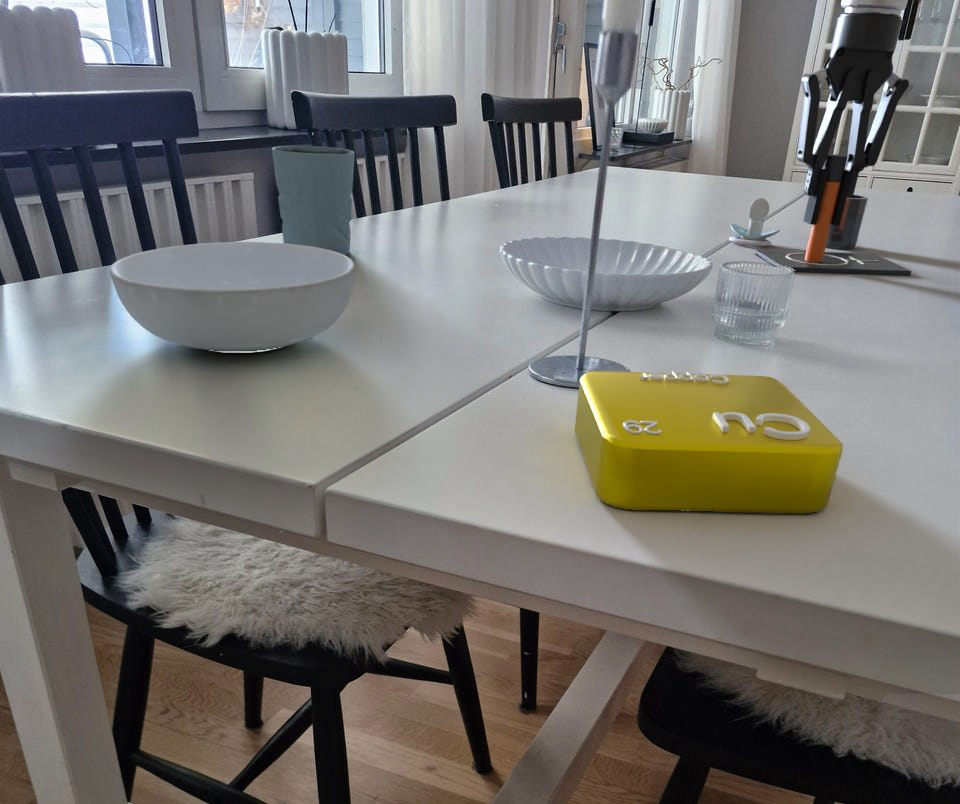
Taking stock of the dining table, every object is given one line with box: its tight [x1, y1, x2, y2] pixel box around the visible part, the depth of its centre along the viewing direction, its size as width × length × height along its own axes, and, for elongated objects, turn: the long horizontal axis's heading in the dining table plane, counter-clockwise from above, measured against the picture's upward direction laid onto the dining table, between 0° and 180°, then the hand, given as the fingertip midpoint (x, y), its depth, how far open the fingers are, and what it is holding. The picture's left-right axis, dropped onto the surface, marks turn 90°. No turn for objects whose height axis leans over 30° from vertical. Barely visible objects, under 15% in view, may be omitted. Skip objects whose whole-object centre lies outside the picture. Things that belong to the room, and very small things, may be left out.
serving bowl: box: [109, 241, 356, 351], centre depth 81 cm, size 21×21×7 cm
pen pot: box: [826, 193, 869, 250], centre depth 137 cm, size 6×6×7 cm
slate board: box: [754, 249, 913, 276], centre depth 126 cm, size 18×12×1 cm, turn 93°
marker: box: [804, 153, 848, 263], centre depth 121 cm, size 3×3×13 cm
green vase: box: [271, 145, 356, 256], centre depth 115 cm, size 10×10×12 cm
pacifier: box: [728, 197, 781, 247], centre depth 135 cm, size 7×6×6 cm
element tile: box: [574, 370, 844, 515], centre depth 60 cm, size 15×15×5 cm
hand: (821, 222), depth 122 cm, fingers closed on marker, 3 cm apart
